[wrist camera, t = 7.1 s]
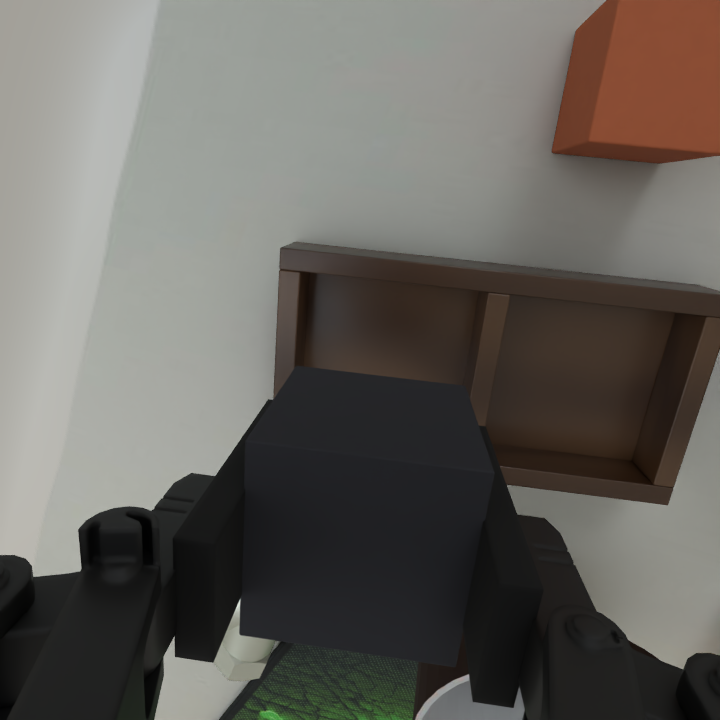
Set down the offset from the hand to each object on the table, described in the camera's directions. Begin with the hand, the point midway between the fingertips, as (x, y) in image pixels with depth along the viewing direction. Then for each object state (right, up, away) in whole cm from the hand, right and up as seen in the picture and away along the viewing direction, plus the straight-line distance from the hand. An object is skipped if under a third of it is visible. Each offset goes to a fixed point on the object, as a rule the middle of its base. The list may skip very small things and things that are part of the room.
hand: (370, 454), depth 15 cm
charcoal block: (0, 0, 0) cm, 0 cm away
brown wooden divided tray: (+6, +3, +12) cm, 13 cm away
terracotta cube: (+11, +15, +7) cm, 20 cm away
